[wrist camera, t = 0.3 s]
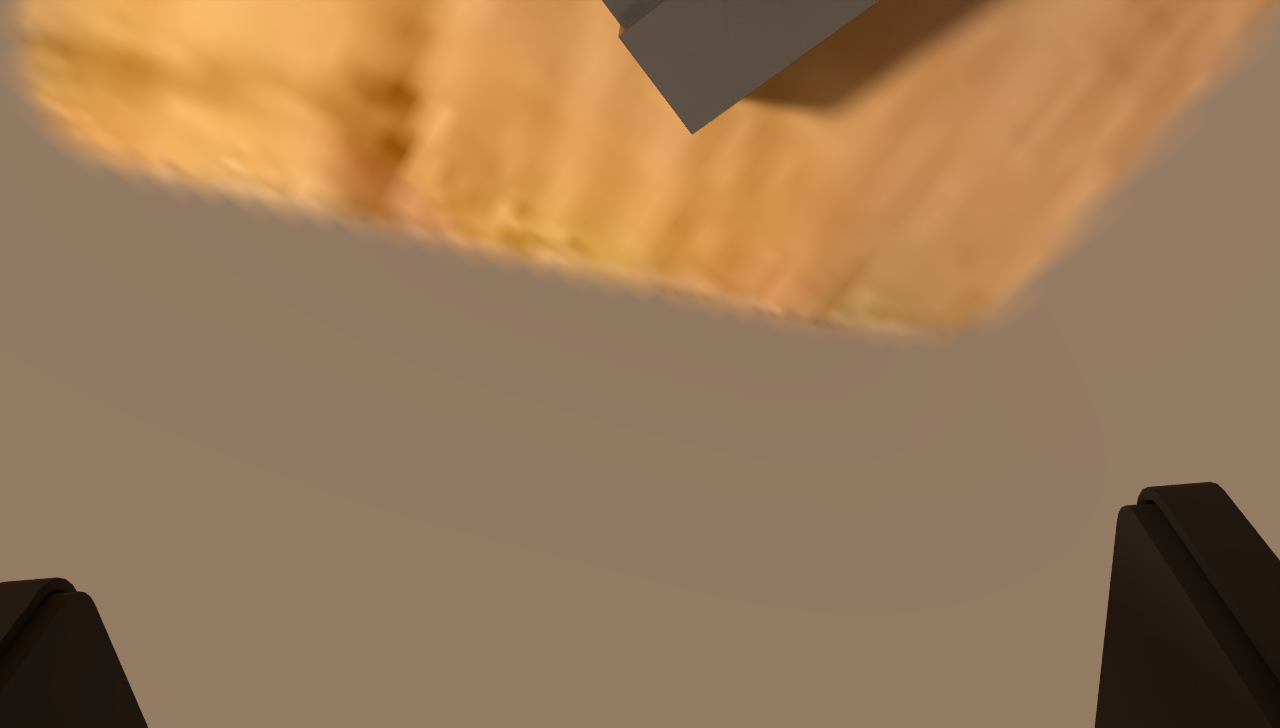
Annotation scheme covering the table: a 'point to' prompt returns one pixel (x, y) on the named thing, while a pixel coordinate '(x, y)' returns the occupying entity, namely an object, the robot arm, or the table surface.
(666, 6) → the slotted ledge
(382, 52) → the table surface
